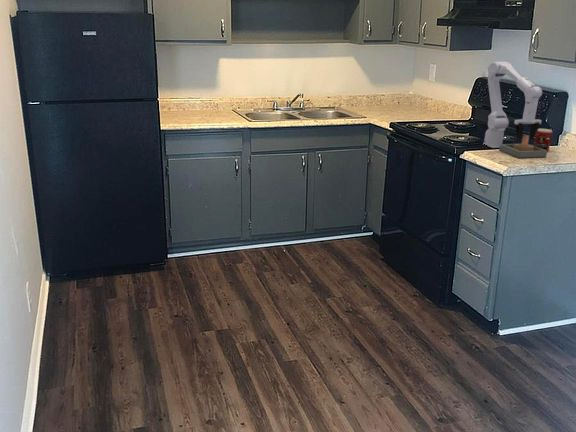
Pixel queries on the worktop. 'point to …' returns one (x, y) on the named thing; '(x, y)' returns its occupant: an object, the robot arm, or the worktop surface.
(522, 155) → the tray
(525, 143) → the peg
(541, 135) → the canned food
